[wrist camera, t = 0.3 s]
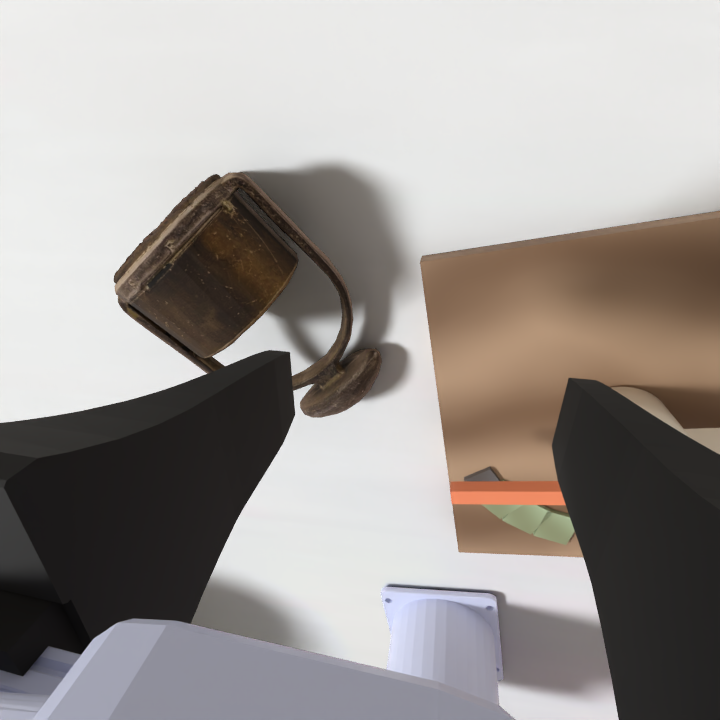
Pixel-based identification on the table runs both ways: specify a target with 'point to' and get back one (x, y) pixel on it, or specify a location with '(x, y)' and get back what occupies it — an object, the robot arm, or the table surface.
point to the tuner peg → (550, 490)
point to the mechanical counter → (234, 286)
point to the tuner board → (565, 353)
